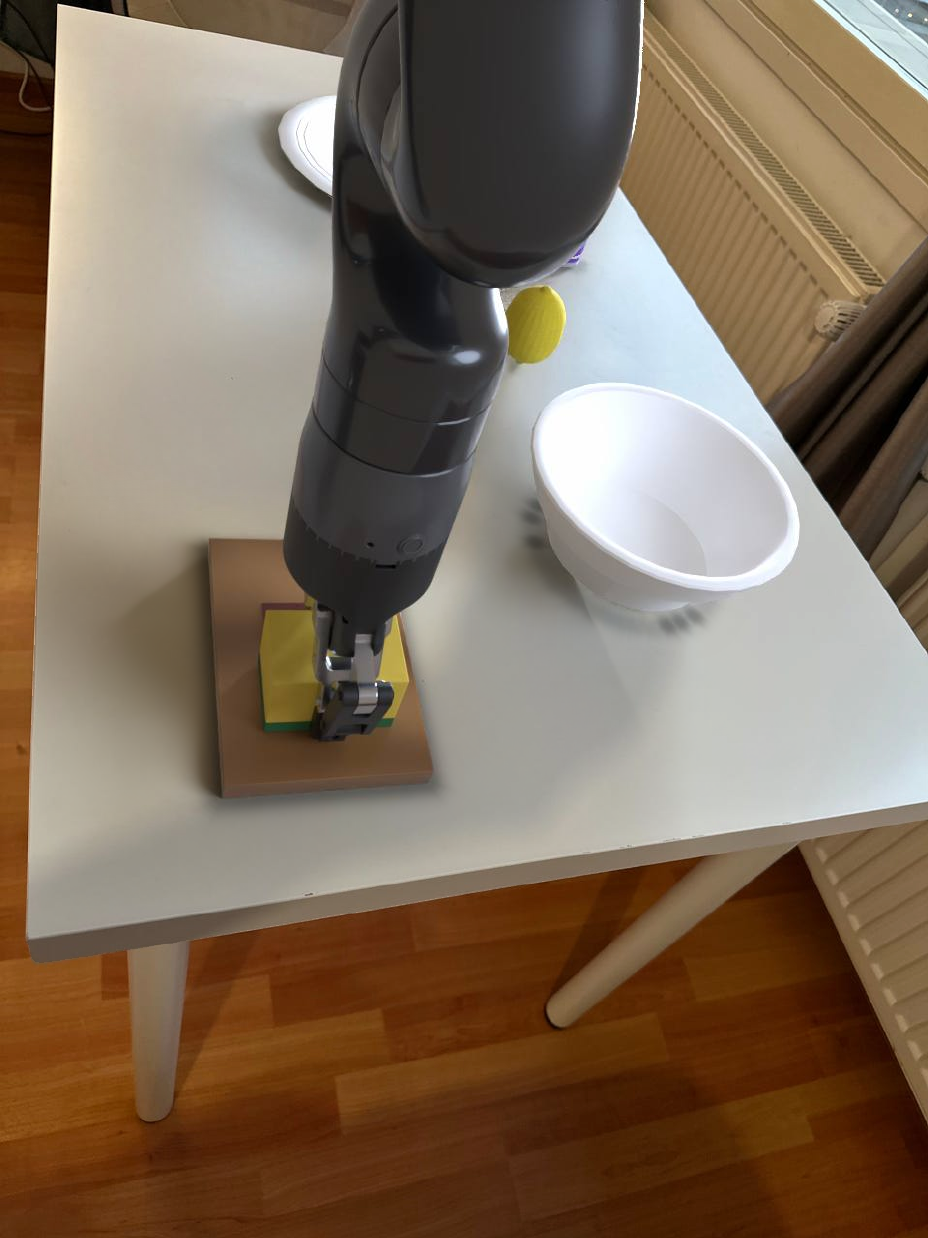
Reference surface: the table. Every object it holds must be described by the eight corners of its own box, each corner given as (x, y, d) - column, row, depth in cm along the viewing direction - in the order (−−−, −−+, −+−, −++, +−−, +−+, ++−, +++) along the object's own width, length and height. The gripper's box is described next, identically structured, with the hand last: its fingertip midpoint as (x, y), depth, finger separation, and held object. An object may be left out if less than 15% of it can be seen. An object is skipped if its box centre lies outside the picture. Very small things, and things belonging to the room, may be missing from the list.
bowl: (764, 532, 76) (818, 463, 70) (715, 706, 62) (777, 639, 56) (549, 423, 77) (583, 345, 71) (455, 569, 64) (487, 489, 58)
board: (428, 783, 53) (435, 771, 51) (222, 799, 49) (223, 786, 47) (382, 555, 63) (386, 540, 61) (207, 552, 59) (208, 536, 57)
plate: (544, 167, 109) (549, 152, 108) (515, 284, 90) (521, 267, 89) (318, 83, 106) (320, 67, 105) (238, 186, 87) (240, 167, 86)
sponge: (263, 732, 50) (272, 684, 46) (257, 659, 53) (265, 609, 49) (391, 727, 52) (409, 681, 49) (379, 657, 55) (395, 609, 51)
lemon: (490, 338, 83) (517, 261, 77) (546, 352, 84) (576, 278, 78) (490, 373, 80) (517, 296, 74) (548, 387, 81) (579, 312, 75)
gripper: (280, 382, 42) (251, 598, 55) (308, 620, 34) (267, 808, 47) (428, 395, 45) (368, 599, 58) (487, 620, 37) (402, 799, 50)
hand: (323, 692), depth 52 cm, fingers closed on sponge, 5 cm apart
